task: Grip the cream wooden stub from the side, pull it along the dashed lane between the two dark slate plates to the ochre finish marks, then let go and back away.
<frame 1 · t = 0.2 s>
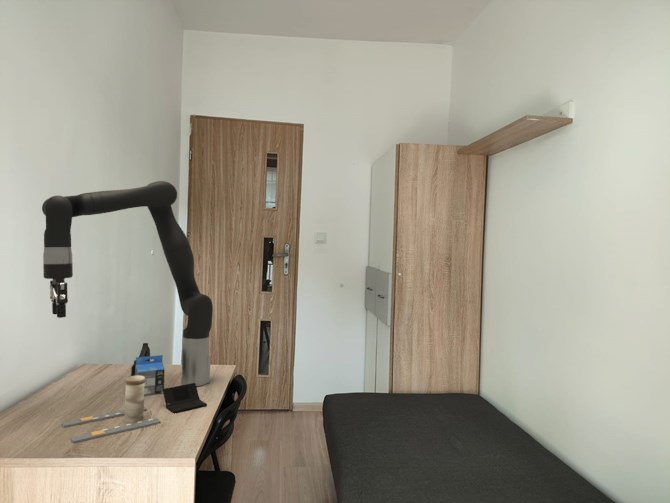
hand: (59, 315, 136), 28 cm above the table, tool pointing down, fingers open, 8 cm apart
cream stub: (134, 418, 130), on the table
label tape cartridge: (149, 393, 153), on the table
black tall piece: (140, 379, 168), on the table
dashed lane plates: (111, 423, 126), on the table
handheld gaming console: (184, 407, 142), on the table
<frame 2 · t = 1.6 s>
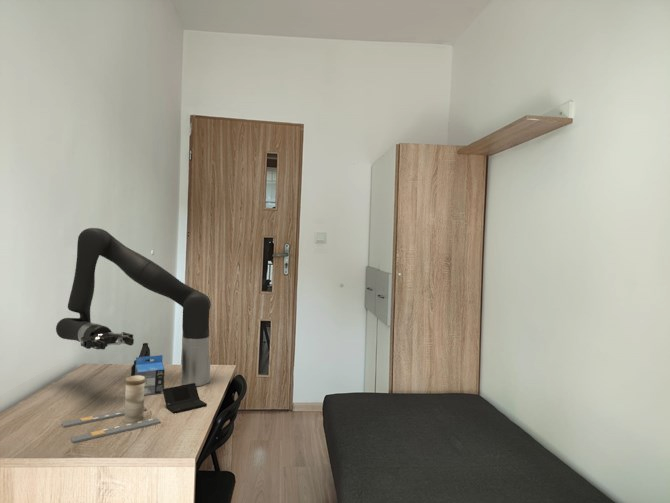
hand: (118, 344, 137), 20 cm above the table, tool horizontal, fingers open, 8 cm apart
nothing on the table moved.
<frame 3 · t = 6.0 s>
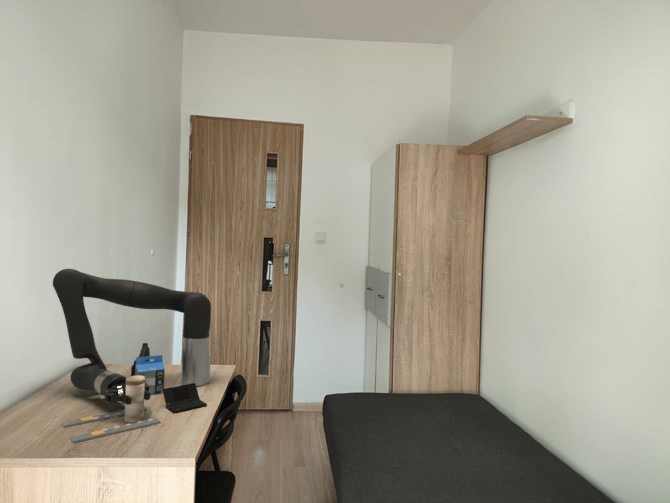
hand: (139, 398, 129), 7 cm above the table, tool horizontal, fingers closed on cream stub, 5 cm apart
cream stub: (134, 418, 130), on the table, touching gripper
everything else where it was.
when the fingers open (7 cm above the table, at t = 10.3 s): cream stub stays where it is, on the table.
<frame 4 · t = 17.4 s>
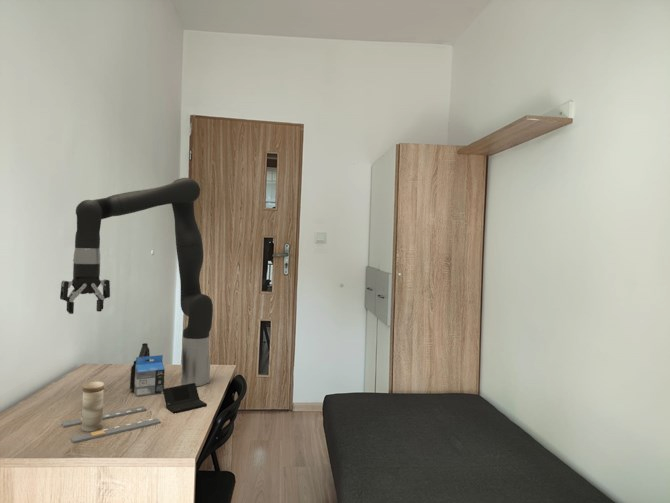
hand: (85, 312, 144), 28 cm above the table, tool pointing down, fingers open, 8 cm apart
cream stub: (92, 427, 123), on the table
everything else where it was.
at the end: cream stub inside the target area (0.1 cm from its centre), on the table; cream stub tilted 1°; the gripper is holding nothing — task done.
